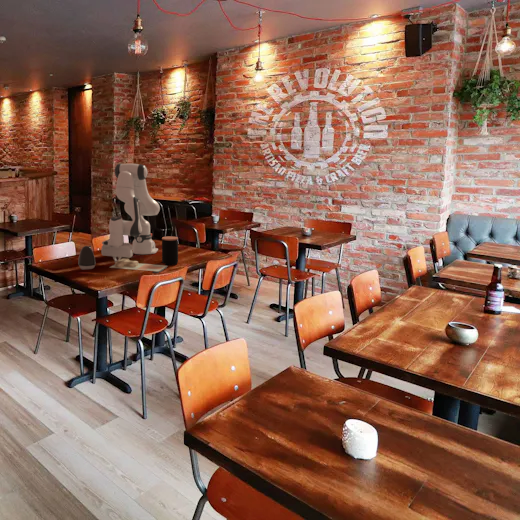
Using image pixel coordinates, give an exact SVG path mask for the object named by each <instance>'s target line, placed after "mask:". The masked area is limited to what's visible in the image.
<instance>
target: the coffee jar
mask: <svg viewBox="0 0 520 520" xmlns="http://www.w3.org/2000/svg"><path fill="white" fill-rule="evenodd" d="M161 240H162V241H161V263H162V264H164V265H166V266H176V265H178V263H179V241H178V240H179V237H178V236H167V235H166V236H163V237H162V238H161Z"/></svg>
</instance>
